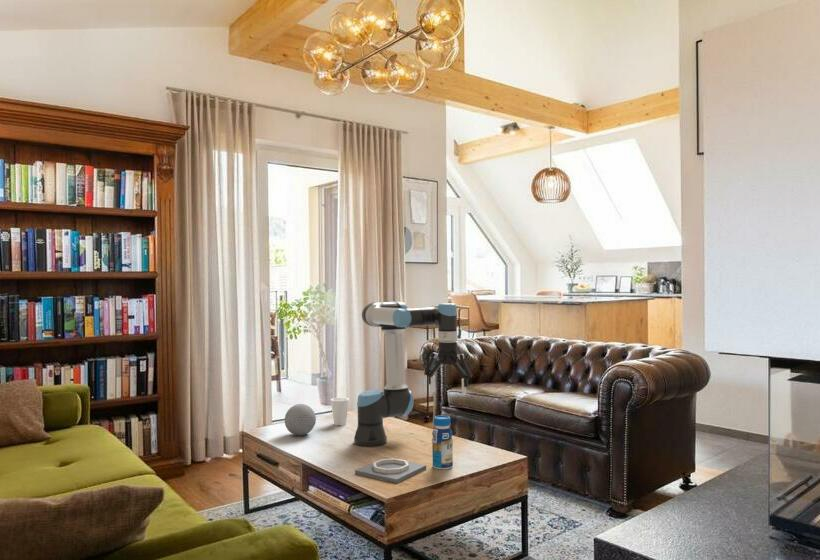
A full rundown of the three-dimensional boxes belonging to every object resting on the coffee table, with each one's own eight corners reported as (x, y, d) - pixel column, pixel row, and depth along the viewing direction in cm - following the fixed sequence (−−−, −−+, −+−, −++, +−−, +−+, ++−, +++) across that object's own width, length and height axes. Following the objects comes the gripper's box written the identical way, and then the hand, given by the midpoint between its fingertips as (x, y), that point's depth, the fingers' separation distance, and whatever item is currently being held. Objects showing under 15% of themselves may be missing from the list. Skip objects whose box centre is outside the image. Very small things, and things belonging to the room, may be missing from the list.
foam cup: (328, 426, 312) (328, 400, 312) (334, 421, 321) (333, 397, 321) (346, 426, 311) (346, 401, 310) (351, 422, 320) (351, 397, 320)
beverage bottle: (433, 463, 248) (433, 414, 248) (454, 464, 247) (453, 414, 246) (430, 469, 240) (430, 419, 240) (452, 470, 238) (451, 419, 238)
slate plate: (354, 474, 235) (354, 466, 235) (385, 460, 252) (385, 453, 252) (396, 483, 224) (396, 475, 224) (426, 469, 240) (426, 461, 240)
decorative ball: (319, 431, 301) (319, 401, 301) (310, 439, 286) (310, 407, 286) (290, 430, 303) (290, 400, 303) (280, 438, 288) (279, 407, 288)
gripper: (416, 341, 248) (416, 393, 248) (473, 343, 237) (474, 397, 237) (423, 339, 255) (424, 389, 255) (479, 341, 244) (480, 394, 244)
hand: (448, 393), depth 246 cm, fingers open, 13 cm apart
